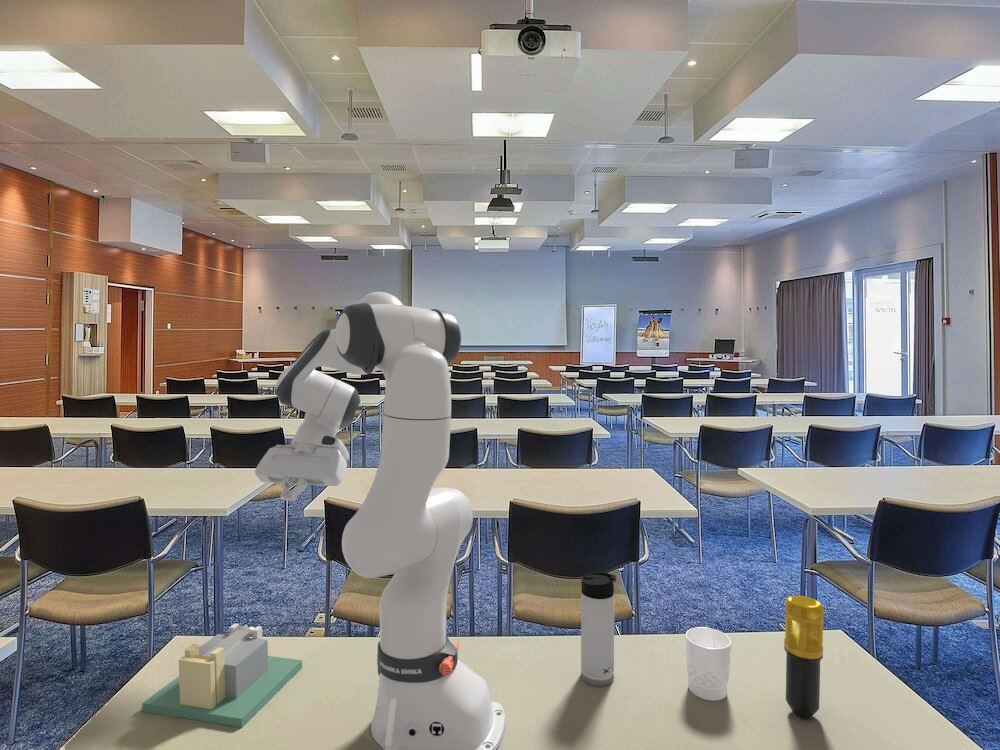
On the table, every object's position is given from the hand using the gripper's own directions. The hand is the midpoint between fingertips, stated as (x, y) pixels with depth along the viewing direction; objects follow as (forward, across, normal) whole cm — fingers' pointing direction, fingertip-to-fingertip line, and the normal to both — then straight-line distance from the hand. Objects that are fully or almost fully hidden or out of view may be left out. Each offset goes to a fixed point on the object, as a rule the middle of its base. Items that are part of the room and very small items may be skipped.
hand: (287, 499), depth 119 cm
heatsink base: (+34, -2, +10) cm, 36 cm away
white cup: (+22, +86, +23) cm, 92 cm away
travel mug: (+22, +66, +23) cm, 73 cm away
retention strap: (+29, -2, +5) cm, 30 cm away
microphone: (+24, +104, +21) cm, 109 cm away
